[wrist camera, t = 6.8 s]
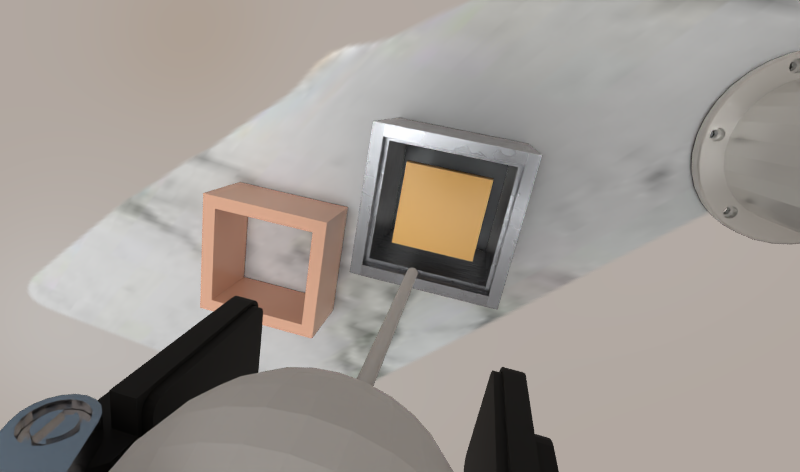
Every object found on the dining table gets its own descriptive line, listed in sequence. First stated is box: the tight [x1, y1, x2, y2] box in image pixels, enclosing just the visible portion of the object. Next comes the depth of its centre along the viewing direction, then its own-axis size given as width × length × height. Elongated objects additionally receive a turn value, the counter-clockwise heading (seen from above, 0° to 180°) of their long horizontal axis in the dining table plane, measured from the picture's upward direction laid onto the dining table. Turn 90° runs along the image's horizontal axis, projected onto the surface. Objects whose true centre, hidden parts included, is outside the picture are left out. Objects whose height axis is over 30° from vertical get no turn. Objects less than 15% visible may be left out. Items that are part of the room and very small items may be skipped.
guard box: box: [350, 118, 542, 309], centre depth 30 cm, size 10×10×8 cm
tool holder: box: [200, 182, 348, 338], centre depth 35 cm, size 10×10×5 cm
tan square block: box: [392, 160, 493, 262], centre depth 29 cm, size 6×6×4 cm
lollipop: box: [109, 268, 453, 472], centre depth 11 cm, size 6×6×15 cm
